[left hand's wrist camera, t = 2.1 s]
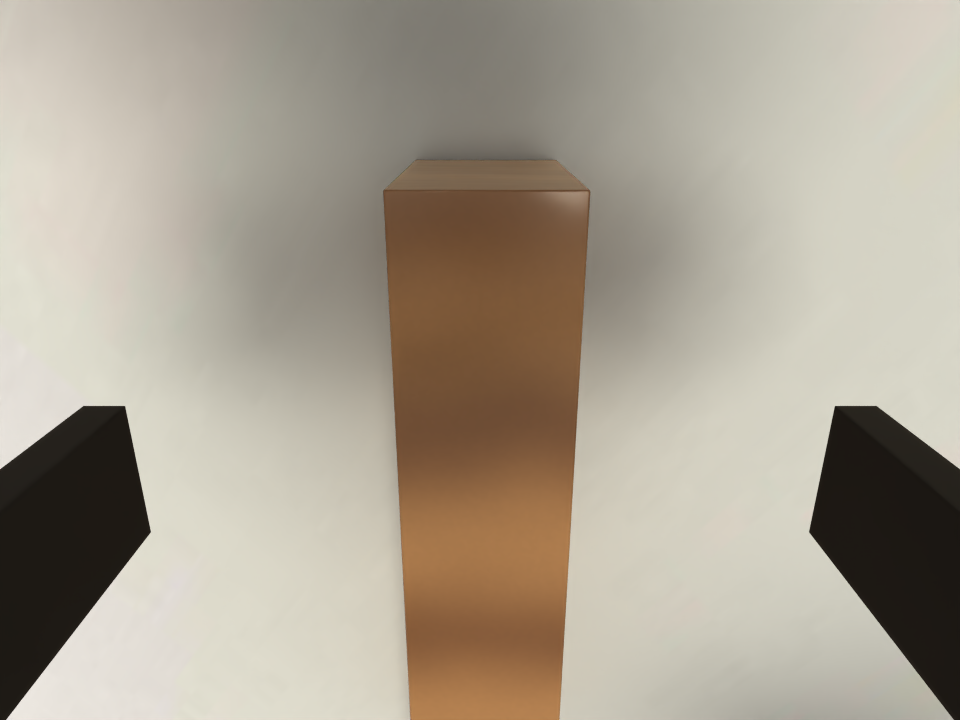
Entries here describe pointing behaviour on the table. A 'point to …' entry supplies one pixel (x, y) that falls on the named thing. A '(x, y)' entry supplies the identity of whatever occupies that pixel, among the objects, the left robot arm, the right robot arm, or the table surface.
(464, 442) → the bar
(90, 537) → the left robot arm
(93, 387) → the table surface
